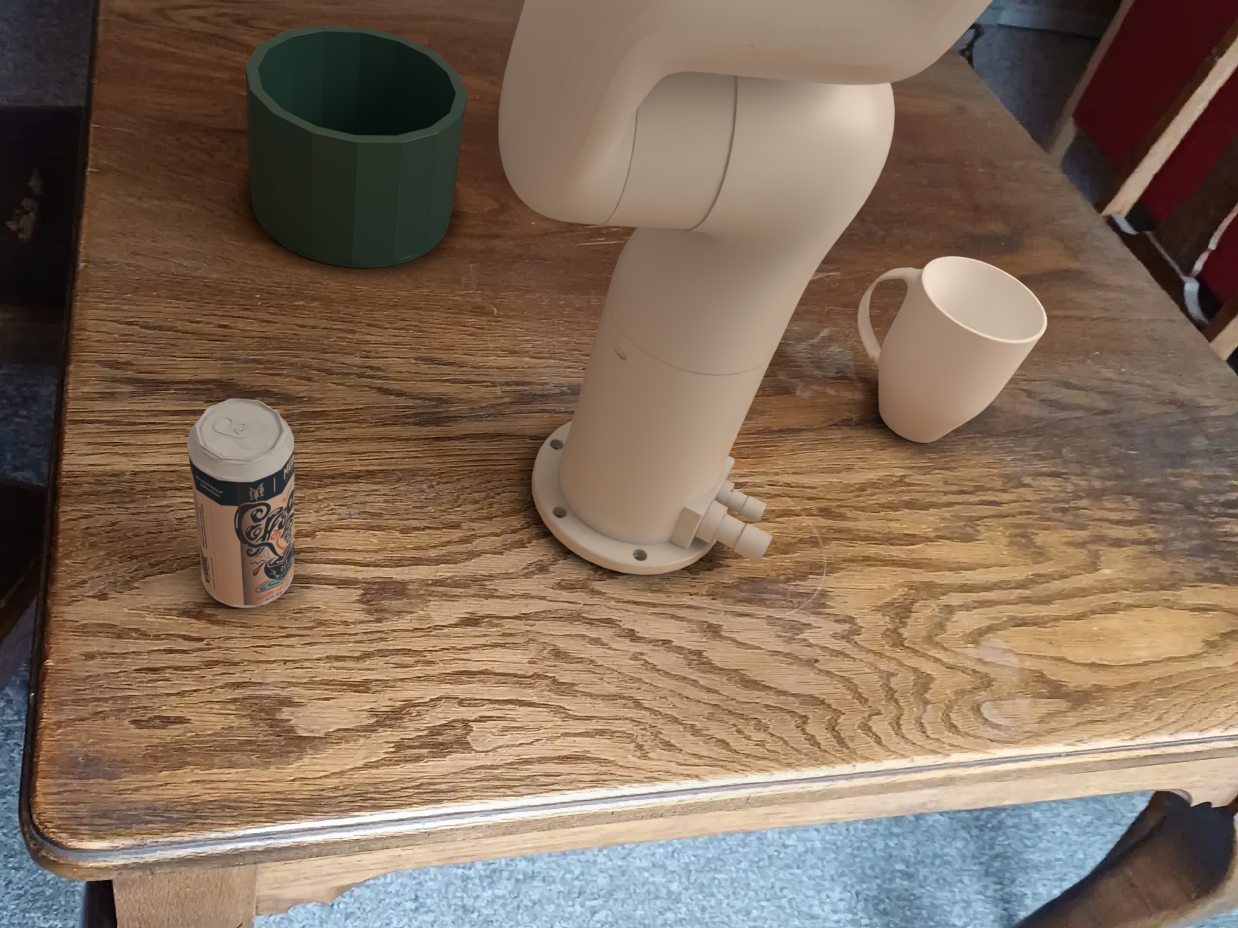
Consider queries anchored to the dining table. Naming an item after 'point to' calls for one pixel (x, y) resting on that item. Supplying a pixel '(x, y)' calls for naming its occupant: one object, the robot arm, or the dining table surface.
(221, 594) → the beer can
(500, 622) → the dining table surface
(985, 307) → the mug
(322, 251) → the tin
